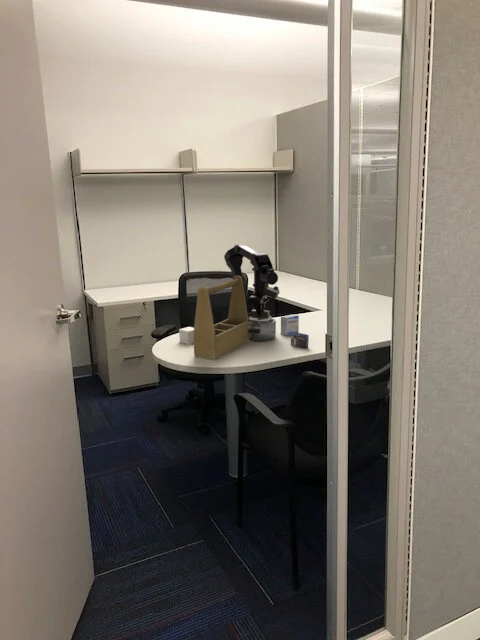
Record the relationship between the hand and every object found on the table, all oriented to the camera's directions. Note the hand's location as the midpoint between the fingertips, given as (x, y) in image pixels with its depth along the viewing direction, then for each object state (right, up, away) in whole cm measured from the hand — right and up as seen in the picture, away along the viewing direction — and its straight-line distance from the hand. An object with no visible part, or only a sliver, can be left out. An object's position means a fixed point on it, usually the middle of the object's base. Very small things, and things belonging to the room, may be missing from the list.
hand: (260, 315), depth 234 cm
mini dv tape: (+17, -14, -12) cm, 25 cm away
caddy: (-17, -15, -14) cm, 27 cm away
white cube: (-33, -12, -2) cm, 35 cm away
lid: (0, -2, +1) cm, 2 cm away
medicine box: (+14, -9, +9) cm, 19 cm away
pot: (0, -10, +3) cm, 11 cm away
